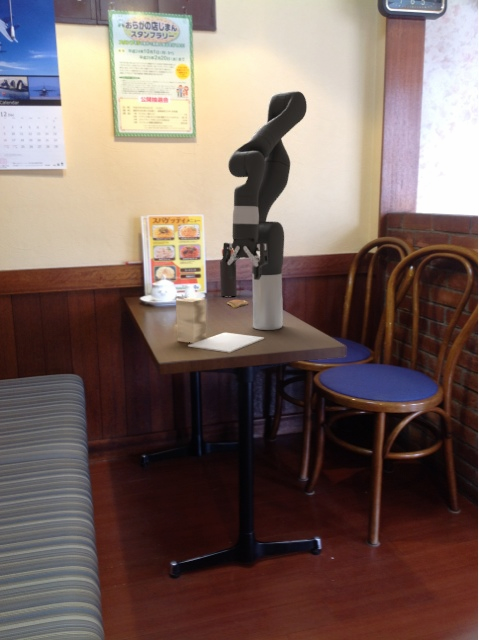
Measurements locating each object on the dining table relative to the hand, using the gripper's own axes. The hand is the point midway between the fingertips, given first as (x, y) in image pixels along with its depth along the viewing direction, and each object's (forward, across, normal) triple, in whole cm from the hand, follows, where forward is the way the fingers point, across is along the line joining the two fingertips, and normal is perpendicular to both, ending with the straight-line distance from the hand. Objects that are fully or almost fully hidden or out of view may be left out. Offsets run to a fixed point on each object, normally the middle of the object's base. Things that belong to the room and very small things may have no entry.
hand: (244, 278), depth 167 cm
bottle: (+13, +46, -60) cm, 77 cm away
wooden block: (+18, +11, +10) cm, 24 cm away
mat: (+18, 0, +8) cm, 20 cm away
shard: (+15, +30, -44) cm, 56 cm away
